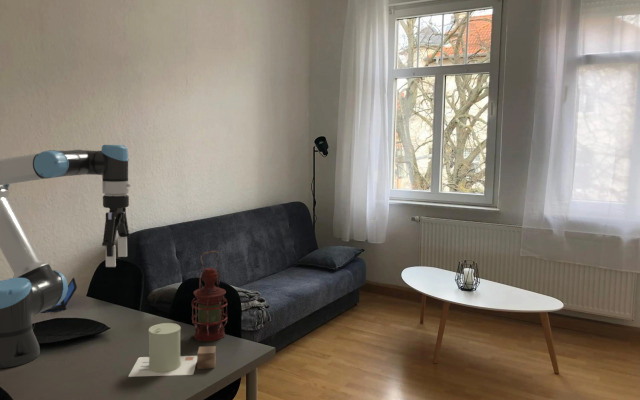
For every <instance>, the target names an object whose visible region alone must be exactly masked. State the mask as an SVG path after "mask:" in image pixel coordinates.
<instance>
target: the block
mask: <svg viewBox="0 0 640 400" xmlns="http://www.w3.org/2000/svg"><path fill="white" fill-rule="evenodd" d="M216 350H217V346H215V345H213V346H198V350H197V354H196V356H197V362H196V366H197V367H196V368H197V370H199V369H201V370H202V369H215V367H216V363H217V359H216V357H217V354H216V353H217V351H216Z"/></svg>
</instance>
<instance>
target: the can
mask: <svg viewBox="0 0 640 400" xmlns="http://www.w3.org/2000/svg"><path fill="white" fill-rule="evenodd" d="M181 328H182V327H181V326H180V325H179V324H177V323H175V322H174V323H172V322H163V323H158V324H157V323H156V324H154V325H151V326H150V327H149V328H148V357H149V369H150V370H152V371H154V372H169V371H173V370H175V369H177V368H179V367H180V365H181V361H180V356H181Z"/></svg>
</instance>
